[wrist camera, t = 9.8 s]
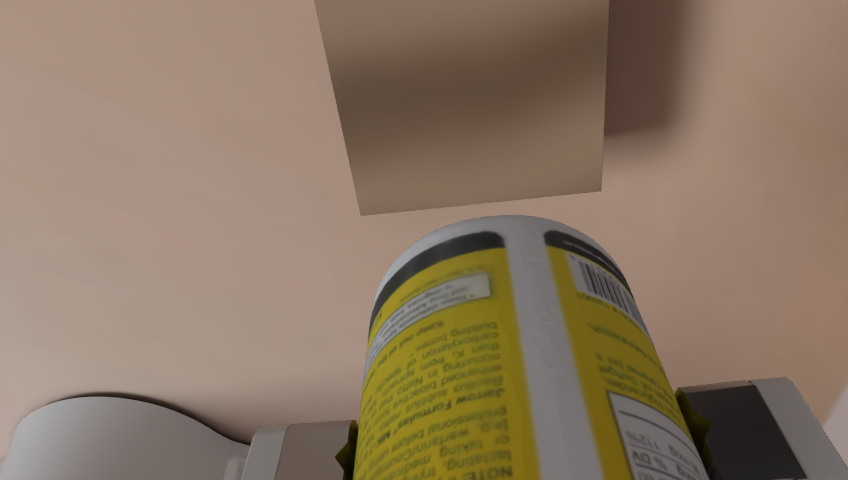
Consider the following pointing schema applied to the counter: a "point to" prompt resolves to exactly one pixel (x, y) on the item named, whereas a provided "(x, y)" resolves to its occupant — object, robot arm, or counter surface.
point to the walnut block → (468, 98)
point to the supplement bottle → (515, 364)
